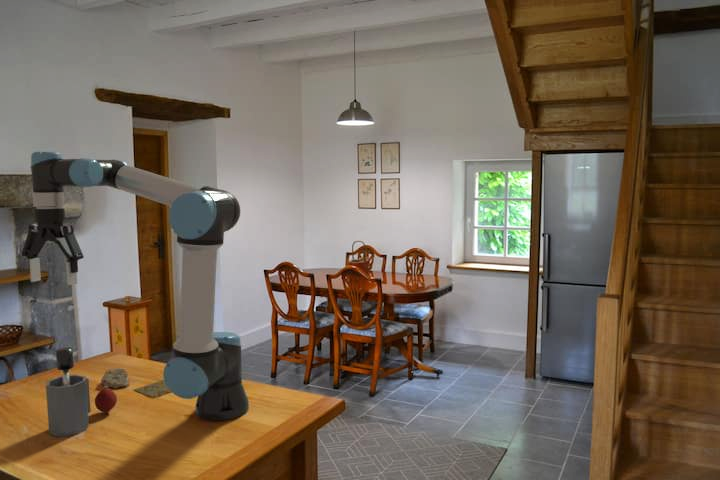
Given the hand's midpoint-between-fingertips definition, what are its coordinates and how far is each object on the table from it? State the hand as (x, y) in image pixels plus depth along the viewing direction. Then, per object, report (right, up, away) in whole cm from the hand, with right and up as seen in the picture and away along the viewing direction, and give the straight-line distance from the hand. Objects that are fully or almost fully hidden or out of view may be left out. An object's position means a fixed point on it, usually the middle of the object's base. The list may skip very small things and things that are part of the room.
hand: (53, 282), depth 162 cm
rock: (+6, -36, +27) cm, 46 cm away
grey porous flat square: (+22, -37, +23) cm, 48 cm away
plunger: (+8, -36, -7) cm, 37 cm away
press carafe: (+8, -39, -6) cm, 41 cm away
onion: (+13, -38, +4) cm, 41 cm away
